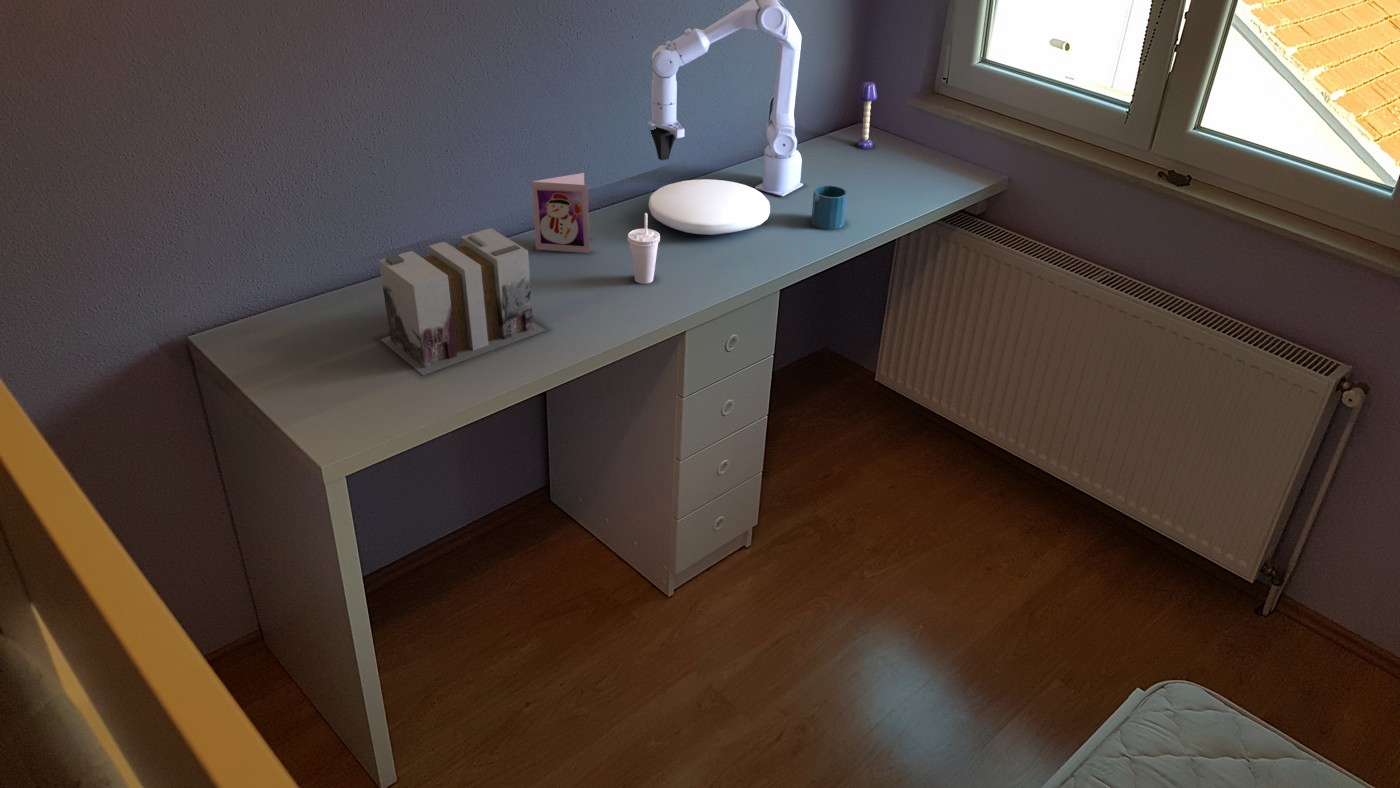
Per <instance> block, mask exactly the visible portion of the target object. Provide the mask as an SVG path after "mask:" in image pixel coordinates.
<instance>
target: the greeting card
mask: <svg viewBox="0 0 1400 788" xmlns="http://www.w3.org/2000/svg"><path fill="white" fill-rule="evenodd" d="M531 188H532V190H531V191H532V204H533V205H532V206H533V219H534V234H535V235H534V236H535V249H536V250H542V251H555V252H556V251H557V252H568V253H569V252H570V253H584V254H585V253H586V254H591V251H590V250H591V249H590V224H589V219H590V218H589V192H588V191H589V190H588V185H587V184H585V172H580V173H574V174H568V175H561V176H556V177H550V178H544V179H537V180H531Z"/></svg>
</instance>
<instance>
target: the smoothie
mask: <svg viewBox="0 0 1400 788" xmlns="http://www.w3.org/2000/svg"><path fill="white" fill-rule="evenodd" d="M643 214H644V215H643V216H644V228H636V229H633V230H631V231H629V232H628V233H627V242H628V243H629V249H630V255H631V262H632V270H633V276H634V281H635V282H636V283H637V284H642V285H643V284H650V283H652V282H653V281H654V277H655V270H656V261H657V256H658V248H659V243H660V241H661V235H660V233H659V232H658V231H656V230H654V229H651V228H648V213H647V212H644V213H643Z"/></svg>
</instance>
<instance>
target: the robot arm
mask: <svg viewBox="0 0 1400 788" xmlns="http://www.w3.org/2000/svg"><path fill="white" fill-rule="evenodd" d="M758 26H759V28H760V29H761V30H762V31H763V32H765V33H766V34H769V35H771V36H773V37H774V39H776V41H777V42H778V51H777V62H776V72H775V80H774V81H775V82H774V92H773V103H772V105H773V106H772V111H771V112H770V117H769V121H768V123H767V125H766V127H765V128H764V137H765V139H766V141H767V142H768V144H766V147H765V148H764V154H763V170H762V171H763V173H762V182H761V183H760V184H758V185H756V186H754V189H756V190H757V191H760V192H766V193H769V194H772V195H775V196H779V197H785V196H787V195H788V194H790V193H792V192H794V191H796V190H797V189H799V188H801V187H803V186H804V183H802V182H801V177H802V164H803V160H802V156H801V153H800V152H799V150H797V146H798V139H797V137H796V134H795V128H796V125H795V115H794V114H795V107H796V106H795V104H796V95H797V87H798V76H799V66H800V58H801V51H802V50H801V48H802V39H803V38H802V34H801V32H800V29H799V27H798V26H797V24H796V22H795V20H794V19H793V17H792V15H791V13H790V12H789V10H788V9H787V7H786V6H785V4H784V3H783V2H782V1H781V0H748V1H747V2H746V3H744V4H742V5H741V6H740V7H738V8H736V9H735V10H733V11H731V12H730V13H728V14H727V15H725V16H723V17H722V18H720V19H719V20H717V21H716V22H714V23H712V24H711V25H709V26H708V27H705V29H699V28H693V29H691V28H687V29H685V30H684V34H682V35H681V36H679V37H677V38H675V39H673V40H671V41H670V40H667V41H666V42H665V44H664V45H663V44H662V45H658V46H659V47H658V46H657V47H658V48H657V49H656V50H655V51H654V52H653V51H652V52H653V55H652V54H651V55H652V63H651V66H652V72H651V111H652V121H651V120H650V121H646V122H647V123H646V124H647V126H649V127H650V128H654V127H656V129H654V130H650V131H651V134H652V136H651V138H652V137H653V138H652V140H653V143H654V146H655V150H656V154H657V158H658V160H660V161H665V160H669V158H670V155H671V151H672V148H673V145H674V142H675V141H676V139H681V138H685V128H684V127H682V125H681V123H680V122H679V121H678V119H677V112H678V111H677V106H678V105H677V104H678V103H677V101H678V100H677V99H678V98H677V97H678V90H677V89H678V82H677V81H678V80H677V73H678V71H679V68H680V67H683V66H685V65H687V64H689V63H690V62H692V61H695V60H696V59H697V58H700V57H701V56H703V55H705V54H707V53H708V52H709V49H710V45H711V44H713V43H715V42H717V41H719V40H721V39H723V38H725V37H727V36H729V35H732V34H733V33H735V32H737V31H739V30H741V29H747V30H752V31H758V28H757V27H758ZM653 69H654V70H653ZM652 79H653V80H652ZM651 134H650V135H651Z"/></svg>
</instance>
